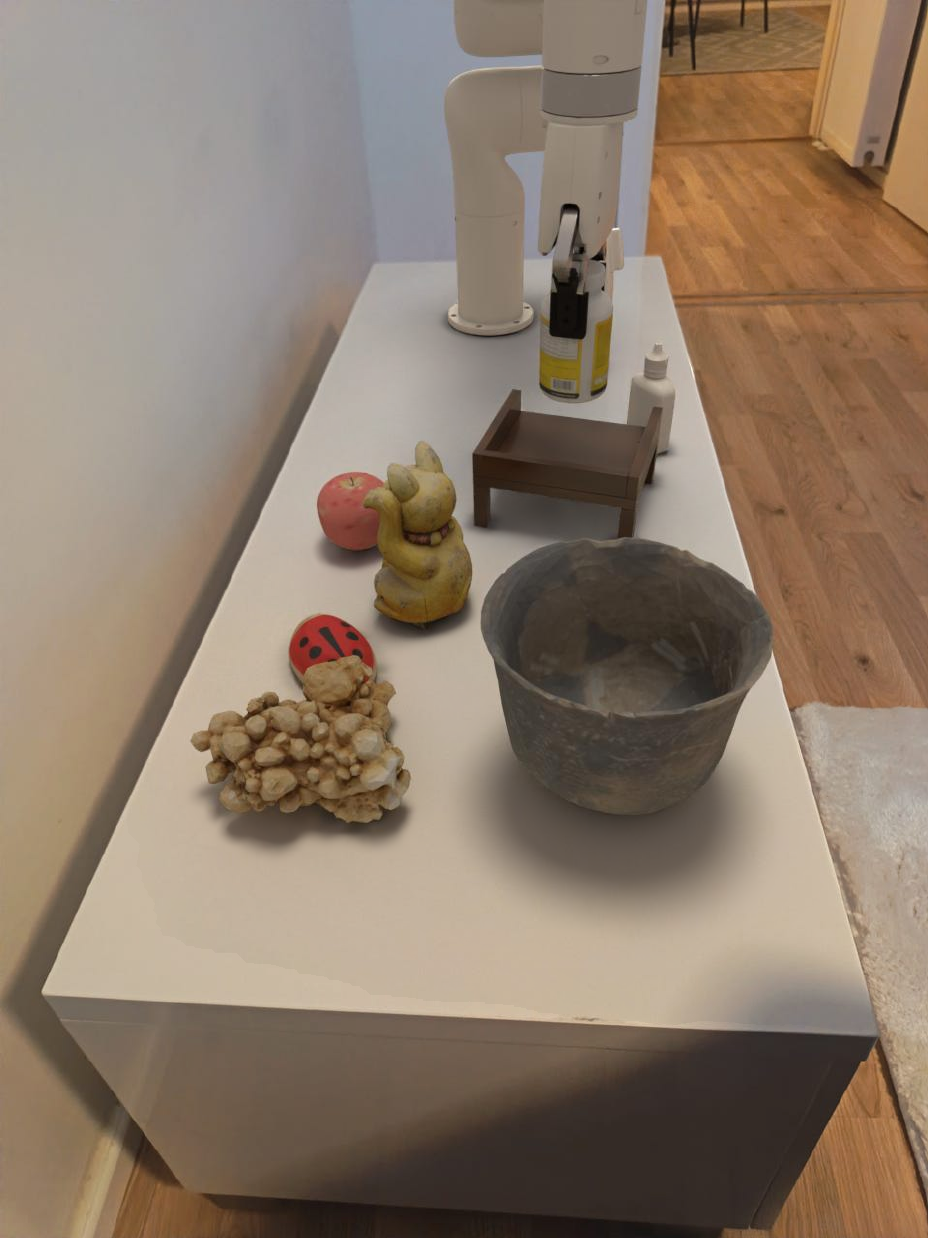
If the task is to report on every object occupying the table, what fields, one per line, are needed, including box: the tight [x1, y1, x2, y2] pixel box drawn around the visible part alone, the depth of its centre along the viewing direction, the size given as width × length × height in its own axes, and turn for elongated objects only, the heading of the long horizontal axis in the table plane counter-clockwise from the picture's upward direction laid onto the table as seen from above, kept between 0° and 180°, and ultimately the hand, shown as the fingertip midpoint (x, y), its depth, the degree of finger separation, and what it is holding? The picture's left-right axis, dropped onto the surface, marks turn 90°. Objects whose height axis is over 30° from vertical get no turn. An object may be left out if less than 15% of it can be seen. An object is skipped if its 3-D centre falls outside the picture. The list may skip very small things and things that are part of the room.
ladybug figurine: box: [288, 613, 378, 683], centre depth 73 cm, size 7×10×4 cm
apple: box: [316, 471, 385, 551], centre depth 84 cm, size 7×7×8 cm
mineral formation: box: [189, 655, 412, 824], centre depth 63 cm, size 8×13×15 cm
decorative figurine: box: [363, 440, 473, 630], centre depth 75 cm, size 10×8×15 cm
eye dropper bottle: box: [626, 342, 676, 455], centre depth 96 cm, size 4×6×12 cm
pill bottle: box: [538, 260, 614, 404], centre depth 80 cm, size 6×6×12 cm
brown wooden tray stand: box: [471, 388, 663, 539], centre depth 89 cm, size 14×16×8 cm
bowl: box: [480, 537, 774, 816], centre depth 60 cm, size 18×18×15 cm
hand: (576, 318), depth 79 cm, fingers closed on pill bottle, 6 cm apart
